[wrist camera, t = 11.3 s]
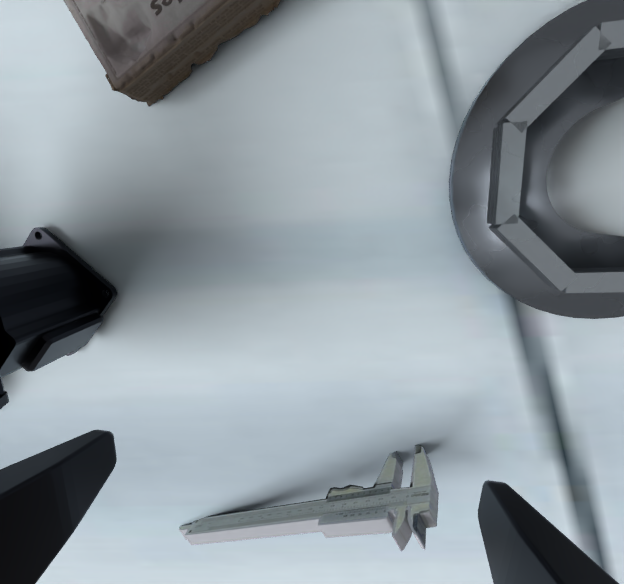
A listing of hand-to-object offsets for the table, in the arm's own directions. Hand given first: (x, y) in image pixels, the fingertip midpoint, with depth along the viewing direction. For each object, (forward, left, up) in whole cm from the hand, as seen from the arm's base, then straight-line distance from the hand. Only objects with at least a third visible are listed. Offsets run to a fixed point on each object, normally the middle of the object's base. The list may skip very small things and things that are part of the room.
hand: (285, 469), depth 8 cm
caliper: (+7, -12, -14) cm, 20 cm away
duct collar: (+5, +15, -13) cm, 20 cm away
